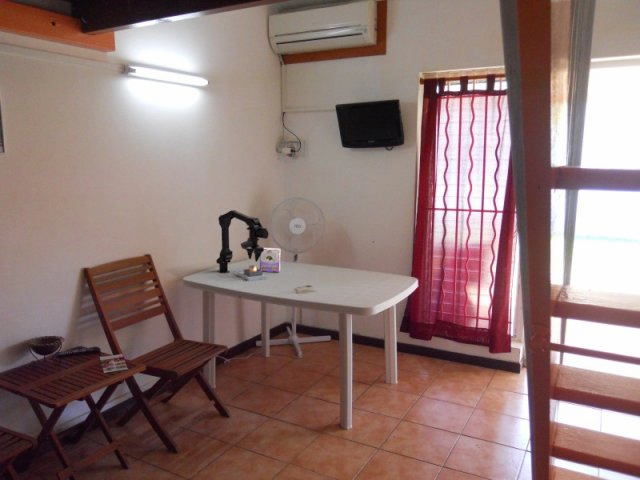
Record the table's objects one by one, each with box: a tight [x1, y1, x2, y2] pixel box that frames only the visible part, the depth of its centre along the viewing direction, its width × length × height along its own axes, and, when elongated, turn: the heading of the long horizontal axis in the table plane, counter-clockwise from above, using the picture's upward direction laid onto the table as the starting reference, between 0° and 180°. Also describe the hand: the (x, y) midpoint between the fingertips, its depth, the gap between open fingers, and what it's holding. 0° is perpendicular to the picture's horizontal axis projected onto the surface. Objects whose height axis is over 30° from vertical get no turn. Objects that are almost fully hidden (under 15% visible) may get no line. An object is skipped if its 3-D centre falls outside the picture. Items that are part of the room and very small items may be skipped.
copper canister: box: [248, 264, 258, 272], centre depth 331 cm, size 5×5×8 cm
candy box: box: [259, 247, 282, 273], centre depth 351 cm, size 14×6×16 cm, turn 84°
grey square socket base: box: [236, 268, 267, 282], centre depth 333 cm, size 17×13×5 cm
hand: (253, 260), depth 330 cm, fingers open, 9 cm apart
